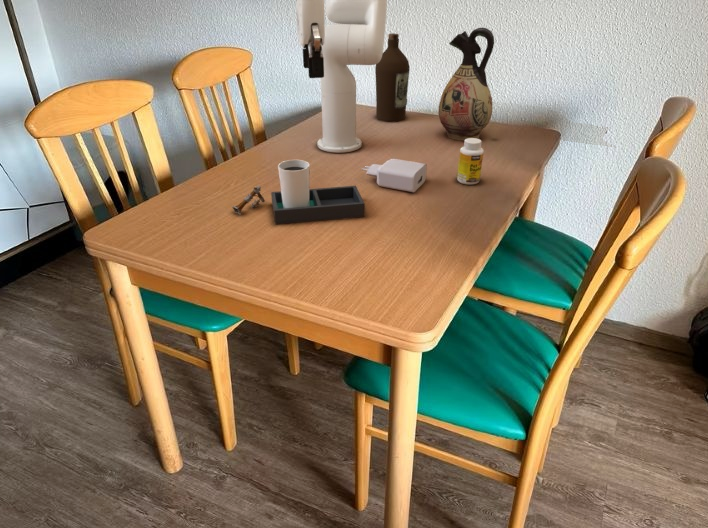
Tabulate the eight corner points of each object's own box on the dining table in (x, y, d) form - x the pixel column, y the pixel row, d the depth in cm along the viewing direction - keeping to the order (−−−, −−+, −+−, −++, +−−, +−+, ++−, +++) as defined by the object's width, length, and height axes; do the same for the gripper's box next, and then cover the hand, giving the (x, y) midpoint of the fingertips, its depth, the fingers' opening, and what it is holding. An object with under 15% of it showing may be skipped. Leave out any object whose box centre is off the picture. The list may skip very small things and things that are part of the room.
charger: (370, 171, 147) (425, 180, 142) (355, 183, 141) (412, 194, 135) (371, 153, 145) (427, 162, 139) (355, 165, 138) (413, 175, 132)
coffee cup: (313, 213, 125) (311, 169, 119) (283, 216, 123) (279, 172, 118) (309, 201, 130) (307, 158, 124) (279, 203, 129) (276, 160, 123)
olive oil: (368, 118, 186) (369, 34, 172) (386, 111, 193) (388, 30, 179) (395, 124, 180) (398, 38, 167) (413, 116, 187) (417, 33, 174)
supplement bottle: (467, 187, 138) (472, 145, 133) (452, 180, 142) (456, 139, 137) (484, 182, 141) (489, 141, 135) (468, 175, 145) (473, 135, 139)
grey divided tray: (272, 204, 130) (271, 191, 129) (355, 198, 133) (355, 185, 131) (275, 224, 122) (274, 210, 120) (364, 216, 125) (364, 203, 123)
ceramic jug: (427, 139, 169) (435, 27, 152) (449, 125, 179) (458, 20, 163) (482, 149, 161) (497, 33, 144) (501, 134, 172) (516, 24, 155)
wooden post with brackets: (269, 199, 131) (261, 184, 127) (245, 222, 128) (236, 208, 125) (264, 197, 132) (256, 182, 128) (240, 220, 129) (231, 205, 126)
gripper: (287, -21, 122) (292, 65, 131) (295, -13, 108) (300, 82, 117) (322, -21, 123) (324, 63, 132) (335, -13, 109) (336, 81, 118)
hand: (313, 72), depth 125 cm, fingers open, 9 cm apart
